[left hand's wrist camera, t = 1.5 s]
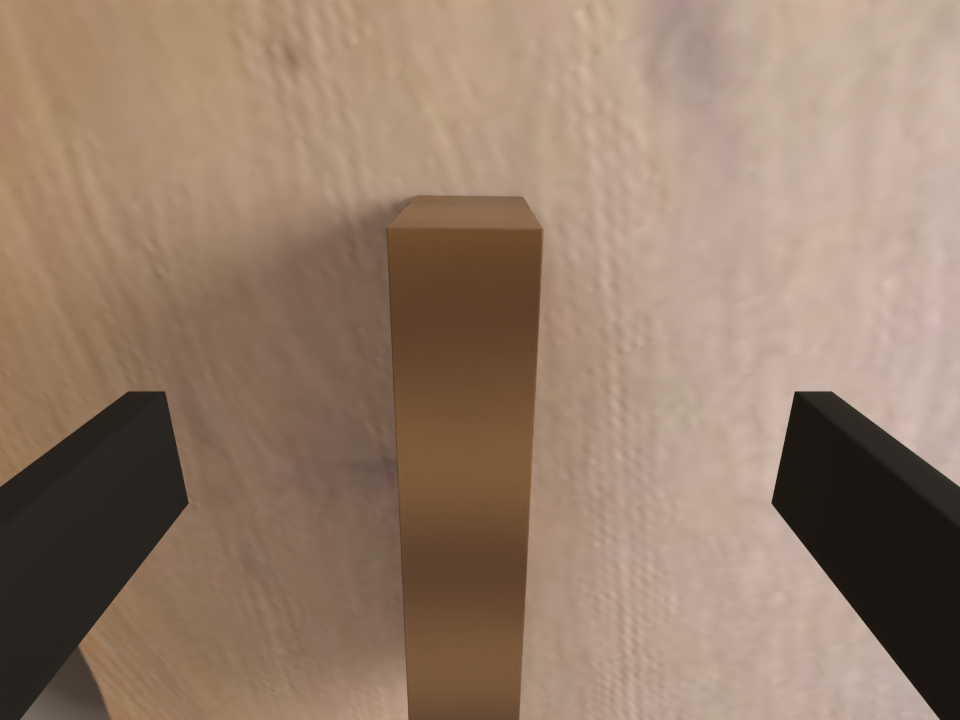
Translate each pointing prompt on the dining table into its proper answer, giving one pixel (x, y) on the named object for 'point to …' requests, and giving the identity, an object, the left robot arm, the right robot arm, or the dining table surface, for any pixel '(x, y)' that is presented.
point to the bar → (464, 445)
